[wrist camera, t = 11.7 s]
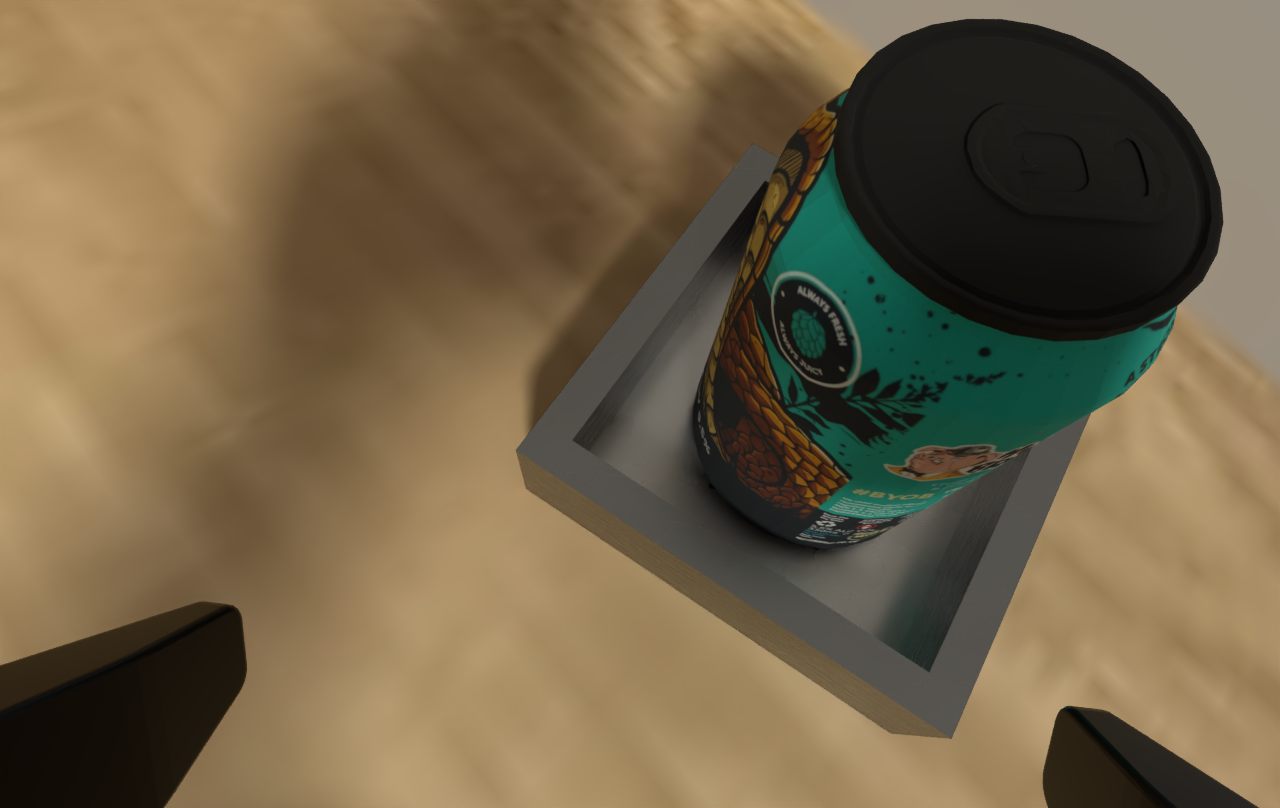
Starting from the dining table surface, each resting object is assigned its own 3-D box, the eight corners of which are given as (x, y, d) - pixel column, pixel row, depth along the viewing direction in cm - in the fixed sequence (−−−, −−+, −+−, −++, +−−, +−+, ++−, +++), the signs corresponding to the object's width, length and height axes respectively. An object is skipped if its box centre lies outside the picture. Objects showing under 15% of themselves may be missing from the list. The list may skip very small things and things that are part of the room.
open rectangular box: (1047, 393, 24) (1120, 344, 21) (891, 733, 20) (951, 738, 16) (731, 214, 26) (752, 143, 22) (526, 488, 21) (516, 449, 18)
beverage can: (689, 324, 23) (787, -31, 12) (908, 337, 23) (1198, 5, 12) (688, 548, 20) (811, 358, 9) (935, 559, 21) (1338, 389, 10)
